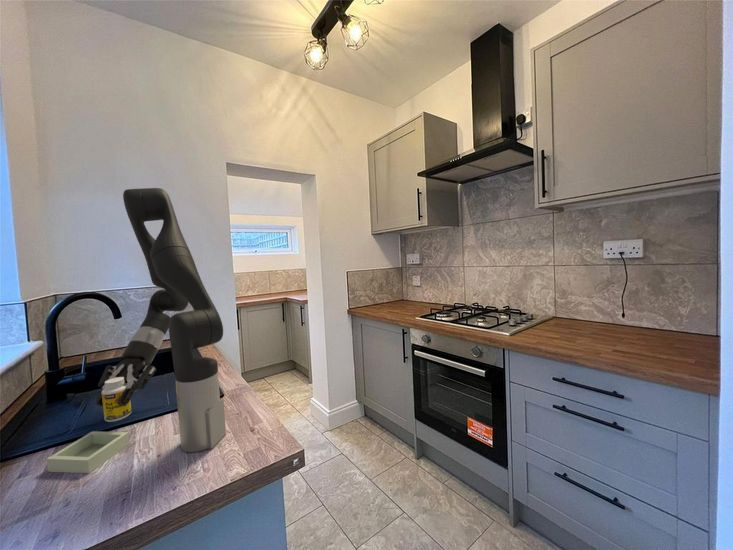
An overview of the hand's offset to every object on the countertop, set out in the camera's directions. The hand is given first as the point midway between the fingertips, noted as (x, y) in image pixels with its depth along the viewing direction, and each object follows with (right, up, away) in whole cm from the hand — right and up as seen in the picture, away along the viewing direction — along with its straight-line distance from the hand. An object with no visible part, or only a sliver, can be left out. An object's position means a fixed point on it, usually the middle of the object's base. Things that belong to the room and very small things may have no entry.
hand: (110, 404), depth 77 cm
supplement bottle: (0, -4, +2) cm, 5 cm away
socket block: (+1, -9, -7) cm, 12 cm away
